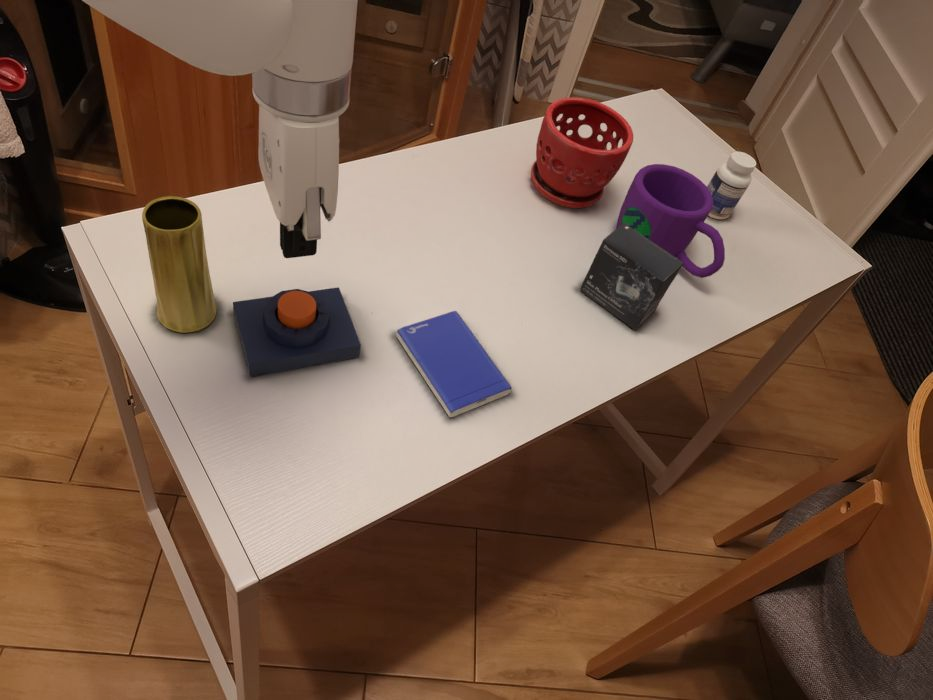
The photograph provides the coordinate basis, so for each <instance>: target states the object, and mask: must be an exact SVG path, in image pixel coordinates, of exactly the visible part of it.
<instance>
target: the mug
mask: <svg viewBox="0 0 933 700" xmlns="http://www.w3.org/2000/svg"><path fill="white" fill-rule="evenodd" d="M707 186H708V185H706V184H705V183H704V182H703V181H702V180H701V179H700V178H698V177H696V176H695V175H694V174H692V173H691V172H688V171H687V170H685V169H682V168H680V167H677V166H673V165H669V164H663V163H653V164H648V165H646V166H643V167H642V168H640V169H639V170H638V171H637V172H636V174H635V176H634V177H633V180H632V182H631V184H630V186H629V188H628V189H627V193H626V195H625V197H624V199H623V202H622V204H621V207H620V210H619V213H618V217H617V221H616V224H615V230H616V229H617V228H618V227H619V226H620V225H622V224H623V223H626V224H628V225H629V226H630V227H631V228H632V229H634V230H635V231H637V232H638V233H640V234H641V235H643V236H644V237H646V238H647V239H649V240H650V241H651V242H653V243H655V244H656V245H657V246H659V247H660V248H662V249H663V250H665V251H666V252H668V253H669V254H671V255H672V256H673V257H675V258H676V259H679V260H680V261H682V262H683V263H684V264H683V266H682V268H683V269H684V270H685V271H686V272H688V273H689V274H690V275H692V276H694V277H697V278H700V279H702V278H707V277H711V276H713V275H714V274H717V272H719V271H720V270H721V268H722V267H724V263H725V259H726V256H725V255H726V254H725V253H726V250H725V249H726V248H725V243H724V238H723V237H722V235H721V233H720V232H719V230H718V229H716V228H715V227H714V226H712V225H711V224H708V223H706V220H707V218H708V217H709V216H708V215H709V213H710V211H711V210H712V208H713V197H712V194H711V192H710V191H709V189H708V188H707ZM698 232H699V233H700V234H703V235H705V236H707V237H708V238H709V239H710V241H711V243H712V247H713V261H712V262H711V263H709V264H708V265H707V266H705V267H700V266H698V265H697V264H695V263H694V262H693V261H692V260H691V259H690V258H689V257H688V255H687V253H686V251H685V250H686V249H687V248H688V247H689V246H690V244H691V242H692V241H693V239H694V238H695V237H696V236H697V233H698Z"/></svg>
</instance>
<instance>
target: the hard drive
mask: <svg viewBox="0 0 933 700" xmlns="http://www.w3.org/2000/svg"><path fill="white" fill-rule="evenodd" d="M457 311H458V310H452V311H450V312H445V313H443V314H440V315H437V316H434V317H431V318H428V319H424V320H422V321H417V322H415V323H412V324H408V325H406V326H402V327H399V328H397V330H396V334H395V336H396V338H397V340H398V341H399V342H400V344H401V346H402V347H403V349H404V350H405V351H406V353H407V355H408V357H409V358H410V360H411V361H412V363H413V364H414V365H415V367H416V368H417V370H418V372H419V373H420V375H421V376H422V378H423V379H424V381H425V383H426V384H427V385H428V387H429V389H430V390H431V391H432V393H433V395H435V398H436V399H437V400H438V402H439V404H440V405H441V406H442V408H443V410H444V411H445V413H446V414H447V416H448V417H449V418H454V417H456V416H459V415H461V414H464V413H466V412H469V411H471V410H474V409H476V408H479V407H481V406H483V405H485V404H489V403H490V402H493V401H496V400H498V399H501V398H503V397H506V396H507V395H509V394H511V391H512V388H513V387H512V385H511V384H510V383H509V381H508V380H507V379H506V378H505V376H504V375H503V373H502V372H501V371H500V369H499V368H498V366H497V365H496V363H495V362H494V361H493V360H492V358H491V357H490V355H489V354H488V353H487V351H486V350H485V348H484V347H483V346H482V344H481V342H480V341H479V340H478V338H477V337H476V336H475V334H474V333H473V331H472V330H471V329H470V328H469V325H467V324H466V322H465V320H464V319H463V318H462V317H461V315H460V314H459V312H457Z"/></svg>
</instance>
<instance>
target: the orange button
mask: <svg viewBox="0 0 933 700" xmlns="http://www.w3.org/2000/svg"><path fill="white" fill-rule="evenodd" d="M315 317H316V302H315V300H314V298H313V297H312V296H311V295H309V294H308V293H305V292H302V291H291V292H288V293H285V294H284V295H282V296H281V297H280V299H279V301H278V318H279V320H280V322H281V323H282V324H283V325H285V326H287V327H289V328H293V329H300V328H306V327H308V326H310V325H311V324H312V323H313V322H314V320H315Z"/></svg>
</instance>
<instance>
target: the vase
mask: <svg viewBox="0 0 933 700" xmlns="http://www.w3.org/2000/svg"><path fill="white" fill-rule="evenodd" d="M202 216H203V215H202V211H201V209H200V208H199V206H198V205H197V203H195V202H194V201H192V200H190V199H188V198H185V197H182V196H175V195H174V196H173V195H168V196H167V195H166V196H162V197H161V196H160V197H158V198H155V199H152V200H150V201H149V202H148V203H147V204H146V205H145V206H144V207H143V210H142V213H141V220H142V224H143V227H144V228H143V229H144V234H145V239H146V245H147V251H148V257H149V264H150V269H151V274H152V280H153V287H154V293H155V298H156V305H157V309H156V315H157V319H158V321H159V322H160V323H161V325H163V326H164V327H165V328H166V329H168V330H170V331H173V332H177V333H183V334H185V333H186V334H187V333H192V332H198V331H200V330H203V329H205V328H206V327H208V326H209V325H211V324H212V322H213V321H214V320H215V318H216V316H217V304H216V301H215V297H214V296H215V295H214V291H213V290H214V289H213V284H212V278H211V273H210V267H209V261H208V255H207V248H206V242H205V232H204V226H203V217H202Z"/></svg>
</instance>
